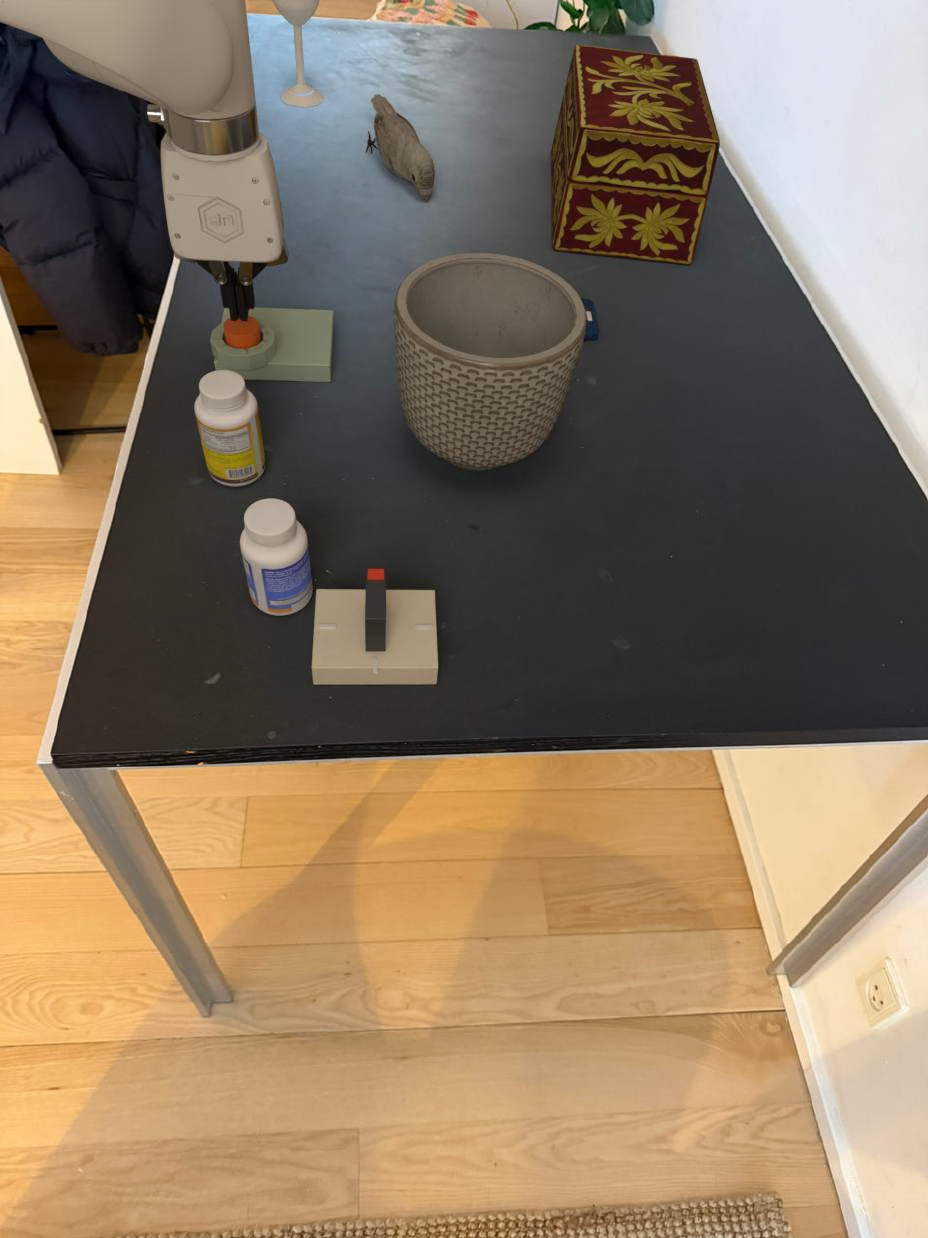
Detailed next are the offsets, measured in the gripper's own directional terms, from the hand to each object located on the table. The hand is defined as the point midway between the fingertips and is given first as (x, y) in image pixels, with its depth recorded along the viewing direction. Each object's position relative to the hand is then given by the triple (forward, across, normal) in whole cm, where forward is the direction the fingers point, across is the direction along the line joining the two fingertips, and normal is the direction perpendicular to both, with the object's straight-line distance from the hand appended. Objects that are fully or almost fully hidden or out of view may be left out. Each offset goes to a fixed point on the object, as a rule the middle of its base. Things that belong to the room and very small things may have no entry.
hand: (240, 312), depth 88 cm
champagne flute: (+7, +2, +67) cm, 67 cm away
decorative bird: (+7, +17, +44) cm, 48 cm away
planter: (+7, +24, -11) cm, 27 cm away
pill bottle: (+7, +6, -31) cm, 32 cm away
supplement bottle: (+7, 0, -16) cm, 17 cm away
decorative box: (+7, +47, +39) cm, 61 cm away
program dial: (+4, +14, -37) cm, 39 cm away
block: (+7, +3, +3) cm, 8 cm away
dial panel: (+7, +14, -37) cm, 40 cm away
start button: (+3, 0, 0) cm, 3 cm away
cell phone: (+7, +33, +11) cm, 35 cm away
